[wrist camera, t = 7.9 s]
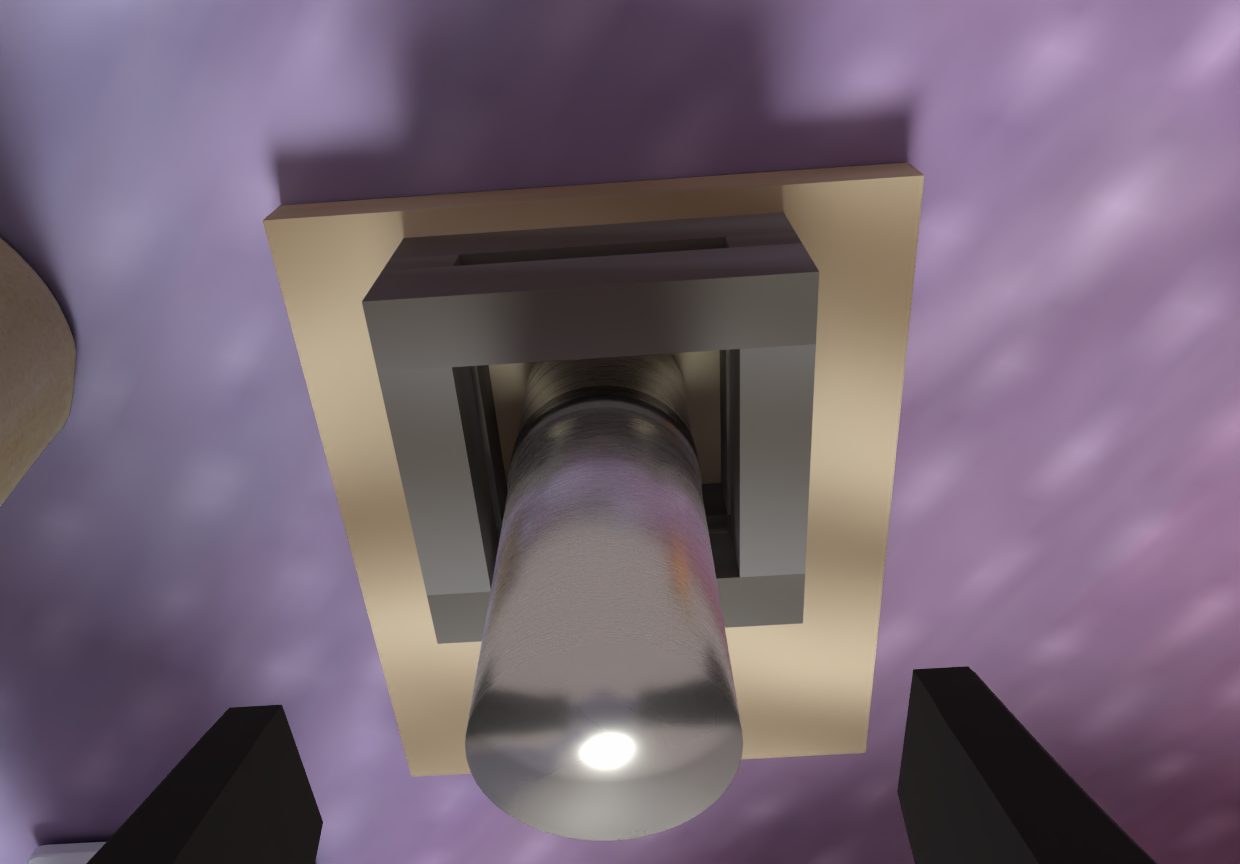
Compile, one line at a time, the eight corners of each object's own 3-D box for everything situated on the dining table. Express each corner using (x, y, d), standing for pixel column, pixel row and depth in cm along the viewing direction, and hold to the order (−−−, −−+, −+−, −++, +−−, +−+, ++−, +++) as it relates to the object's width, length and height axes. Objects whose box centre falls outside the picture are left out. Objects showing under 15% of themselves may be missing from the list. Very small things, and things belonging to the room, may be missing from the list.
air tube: (688, 458, 19) (746, 835, 11) (533, 468, 19) (482, 849, 11) (683, 314, 17) (747, 635, 9) (514, 324, 17) (439, 653, 10)
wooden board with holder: (856, 722, 24) (900, 864, 21) (418, 746, 25) (384, 890, 21) (908, 162, 17) (990, 228, 13) (280, 205, 17) (191, 280, 14)
